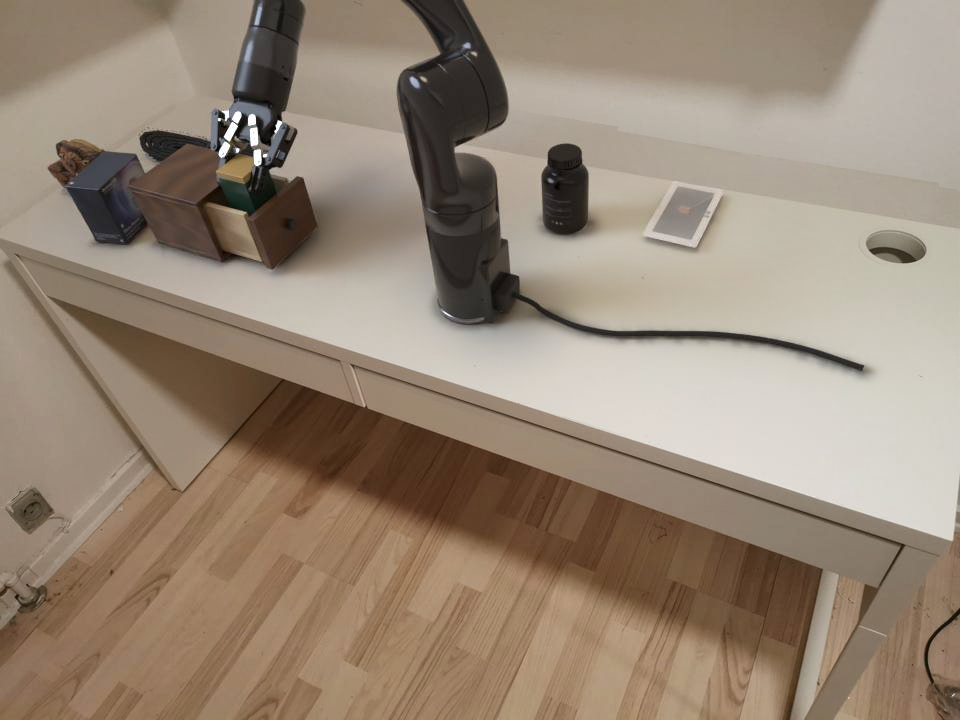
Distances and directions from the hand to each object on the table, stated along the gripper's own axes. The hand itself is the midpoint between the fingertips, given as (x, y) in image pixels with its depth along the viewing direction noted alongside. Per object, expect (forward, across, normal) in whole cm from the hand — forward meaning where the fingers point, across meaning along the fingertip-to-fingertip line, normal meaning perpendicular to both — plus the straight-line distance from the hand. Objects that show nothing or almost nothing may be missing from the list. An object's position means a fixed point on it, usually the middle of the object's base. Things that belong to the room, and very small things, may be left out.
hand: (238, 189), depth 99 cm
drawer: (+6, 0, +8) cm, 10 cm away
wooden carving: (+7, -39, +9) cm, 40 cm away
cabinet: (+7, -11, +9) cm, 16 cm away
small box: (+10, -26, +6) cm, 29 cm away
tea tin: (+2, 0, +4) cm, 5 cm away
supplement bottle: (-8, +40, +24) cm, 48 cm away
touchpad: (-13, +56, +29) cm, 65 cm away
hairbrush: (-6, -30, +22) cm, 37 cm away
